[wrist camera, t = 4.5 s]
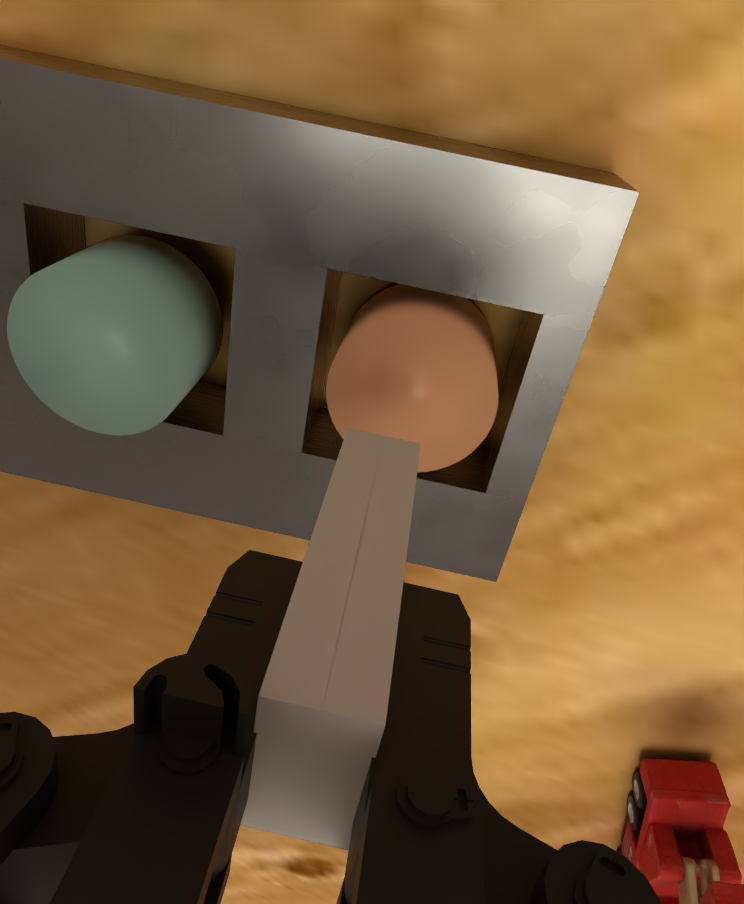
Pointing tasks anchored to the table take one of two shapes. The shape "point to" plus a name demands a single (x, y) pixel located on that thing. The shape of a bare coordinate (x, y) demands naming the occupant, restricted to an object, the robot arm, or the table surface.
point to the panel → (295, 287)
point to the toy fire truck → (682, 833)
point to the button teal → (115, 333)
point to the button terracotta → (417, 374)
